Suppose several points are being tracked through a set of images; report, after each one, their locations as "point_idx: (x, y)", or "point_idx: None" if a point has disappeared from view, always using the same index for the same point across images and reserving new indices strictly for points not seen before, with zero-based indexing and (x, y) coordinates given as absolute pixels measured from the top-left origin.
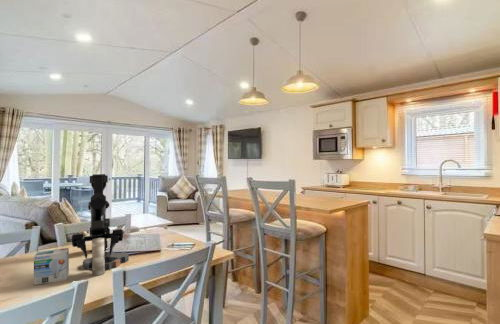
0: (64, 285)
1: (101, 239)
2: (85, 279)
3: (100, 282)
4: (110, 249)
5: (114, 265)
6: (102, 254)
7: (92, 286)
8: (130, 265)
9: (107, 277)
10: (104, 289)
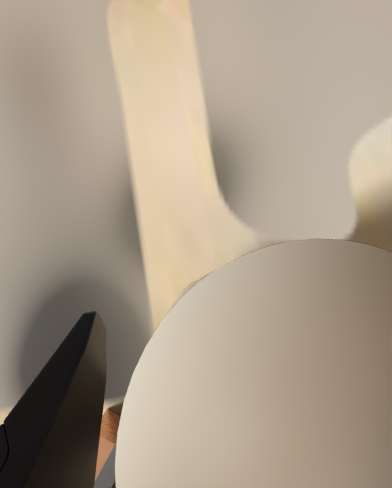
0: (364, 187)
1: (206, 389)
2: (272, 240)
3: (173, 165)
4: (69, 352)
5: (117, 423)
6: (179, 296)
7: (206, 124)
8: (3, 423)
9: (144, 230)
10: (136, 67)
